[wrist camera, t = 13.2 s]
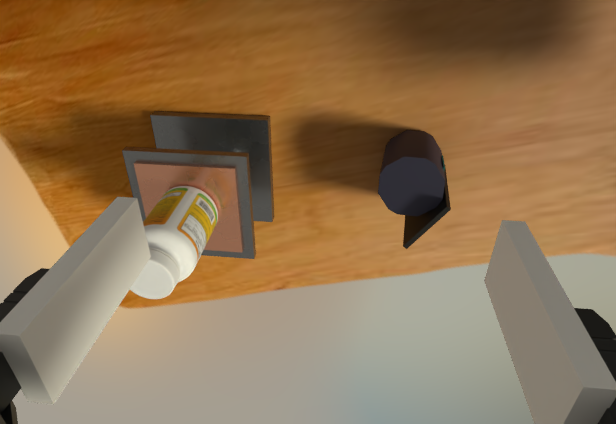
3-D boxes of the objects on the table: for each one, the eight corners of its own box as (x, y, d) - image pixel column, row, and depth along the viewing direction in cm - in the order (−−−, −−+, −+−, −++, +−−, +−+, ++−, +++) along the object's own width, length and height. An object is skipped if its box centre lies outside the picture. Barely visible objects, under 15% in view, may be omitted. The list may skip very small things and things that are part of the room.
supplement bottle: (157, 221, 41) (106, 292, 33) (167, 175, 38) (115, 240, 30) (211, 241, 42) (175, 315, 34) (225, 197, 39) (190, 266, 31)
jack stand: (269, 116, 44) (250, 153, 36) (274, 216, 50) (258, 265, 43) (154, 111, 45) (113, 146, 38) (173, 209, 52) (140, 257, 44)
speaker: (458, 176, 45) (470, 227, 36) (408, 199, 48) (407, 253, 39) (425, 114, 43) (428, 152, 34) (373, 141, 45) (364, 184, 36)
